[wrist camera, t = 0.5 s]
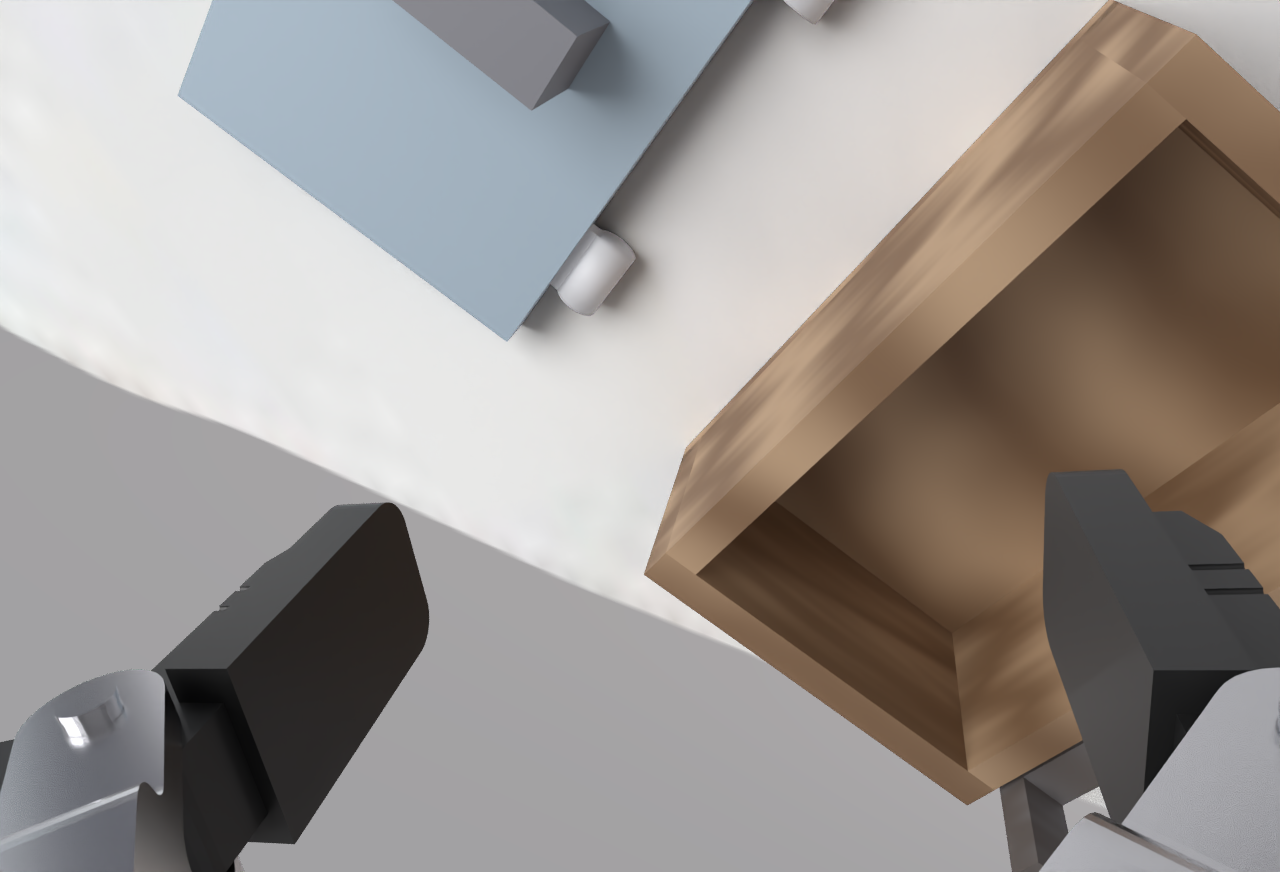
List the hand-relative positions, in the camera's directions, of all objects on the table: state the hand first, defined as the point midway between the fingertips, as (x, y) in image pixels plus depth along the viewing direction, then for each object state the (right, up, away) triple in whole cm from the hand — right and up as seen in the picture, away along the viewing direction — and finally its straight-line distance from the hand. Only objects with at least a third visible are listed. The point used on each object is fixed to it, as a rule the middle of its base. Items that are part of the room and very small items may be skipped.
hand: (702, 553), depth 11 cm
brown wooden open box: (+13, +3, +21) cm, 25 cm away
